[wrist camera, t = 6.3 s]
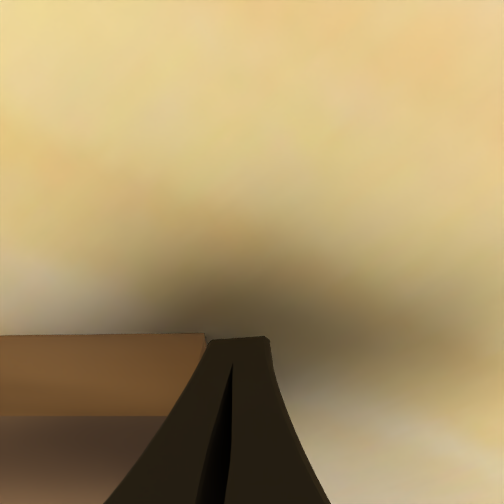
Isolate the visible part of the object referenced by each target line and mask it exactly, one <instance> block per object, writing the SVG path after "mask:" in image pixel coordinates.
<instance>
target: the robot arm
mask: <svg viewBox="0 0 504 504" xmlns="http://www.w3.org/2000/svg"><path fill="white" fill-rule="evenodd" d="M103 504H331V503H330V501H329V499H328V498H327V496H326V494H325V492H324V490H323V488H322V486H321V484H320V482H319V480H318V479H317V477H316V475H315V473H314V471H313V469H312V467H311V465H310V462H309V460H308V458H307V456H306V454H305V452H304V450H303V448H302V445H301V443H300V441H299V439H298V436H297V434H296V432H295V430H294V427H293V425H292V422H291V420H290V417H289V415H288V412H287V409H286V407H285V404H284V401H283V399H282V396H281V393H280V390H279V387H278V384H277V381H276V377H275V373H274V370H273V362H272V355H271V347H270V340H269V339H268V338H266V337H265V336H260V337H245V338H231V339H217V340H212V341H211V342H210V343H209V344H208V346H207V348H206V350H205V352H204V354H203V356H202V358H201V360H200V362H199V363H198V365H197V367H196V369H195V371H194V373H193V374H192V376H191V378H190V380H189V381H188V383H187V385H186V387H185V388H184V390H183V392H182V393H181V395H180V397H179V398H178V400H177V401H176V403H175V405H174V406H173V408H172V410H171V411H170V413H169V415H168V416H167V418H166V419H165V421H164V422H163V424H162V425H161V427H160V428H159V430H158V431H157V432H156V434H155V435H154V437H153V438H152V440H151V441H150V443H149V444H148V446H147V447H146V449H145V450H144V451H143V453H142V454H141V456H140V457H139V458H138V460H137V461H136V462H135V464H134V465H133V467H132V468H131V469H130V471H129V472H128V473H127V474H126V476H125V477H124V478H123V480H122V481H121V482H120V483H119V485H118V486H117V487H116V489H115V490H114V491H113V492H112V494H111V495H110V496H109V497H108V499H107V500H106V501H105V502H104V503H103Z"/></svg>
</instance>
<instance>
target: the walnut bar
mask: <svg viewBox="0 0 504 504" xmlns="http://www.w3.org/2000/svg"><path fill="white" fill-rule="evenodd" d="M205 350H206V342H205V334H204V333H180V334H93V335H6V336H0V504H103V503H104V502H105V501H106V500H107V499H108V497H109V496H110V495H111V494H112V492H113V491H114V490H115V489H116V487H117V486H118V485H119V483H120V482H121V481H122V480H123V478H124V477H125V476H126V474H127V473H128V472H129V471H130V469H131V468H132V467H133V465H134V464H135V462H136V461H137V460H138V458H139V457H140V456H141V454H142V453H143V451H144V450H145V449H146V447H147V446H148V444H149V443H150V441H151V440H152V438H153V437H154V435H155V434H156V432H157V431H158V430H159V428H160V427H161V425H162V424H163V422H164V421H165V419H166V418H167V416H168V415H169V413H170V411H171V410H172V408H173V406H174V405H175V403H176V401H177V400H178V398H179V397H180V395H181V393H182V392H183V390H184V388H185V387H186V385H187V383H188V381H189V380H190V378H191V376H192V374H193V373H194V371H195V369H196V367H197V365H198V363H199V362H200V360H201V358H202V356H203V354H204V352H205Z"/></svg>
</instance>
